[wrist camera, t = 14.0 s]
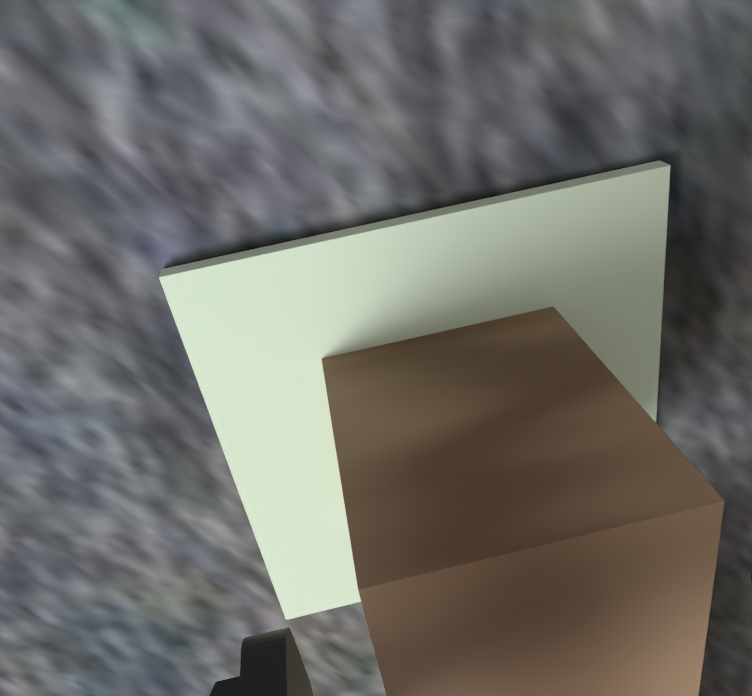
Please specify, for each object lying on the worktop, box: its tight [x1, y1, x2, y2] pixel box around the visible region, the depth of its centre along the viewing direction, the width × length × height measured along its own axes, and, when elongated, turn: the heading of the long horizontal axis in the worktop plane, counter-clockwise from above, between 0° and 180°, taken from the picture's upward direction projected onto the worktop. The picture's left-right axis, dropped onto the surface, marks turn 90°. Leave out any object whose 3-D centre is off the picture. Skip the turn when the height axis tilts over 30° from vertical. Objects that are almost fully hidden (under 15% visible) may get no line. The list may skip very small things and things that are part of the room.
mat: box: [159, 160, 670, 620], centre depth 15 cm, size 10×10×1 cm
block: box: [322, 306, 725, 696], centre depth 13 cm, size 5×5×6 cm
